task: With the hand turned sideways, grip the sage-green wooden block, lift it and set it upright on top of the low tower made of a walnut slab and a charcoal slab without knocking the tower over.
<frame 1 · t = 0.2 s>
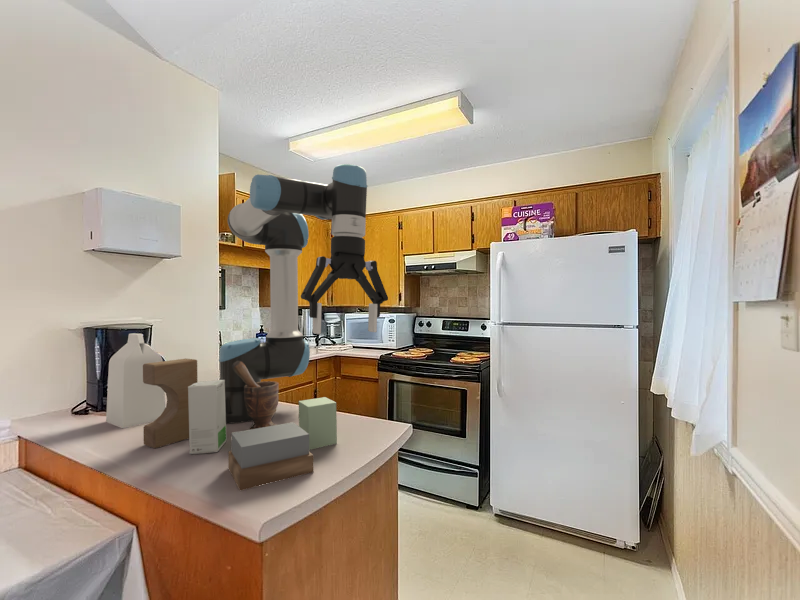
hand: (345, 332, 88), 27 cm above the worktop, tool pointing down, fingers open, 13 cm apart
walnut base slab: (270, 472, 81), on the worktop
sage block: (317, 442, 97), on the worktop
skincare box: (208, 448, 95), on the worktop
decorative block: (171, 441, 100), on the worktop
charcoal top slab: (270, 453, 81), point 3 cm above the worktop
milk: (136, 420, 120), on the worktop
mortar and pestle: (257, 436, 103), on the worktop
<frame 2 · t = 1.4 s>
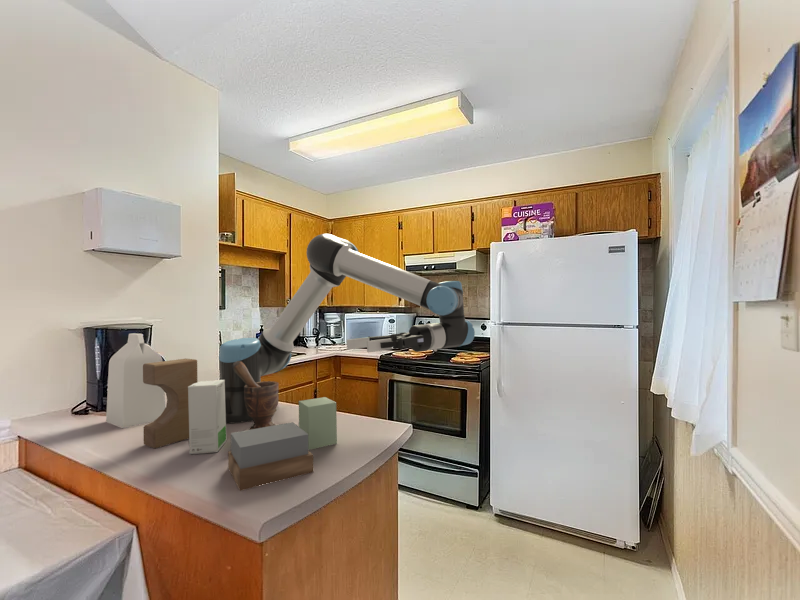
hand: (356, 345, 103), 23 cm above the worktop, tool horizontal, fingers open, 13 cm apart
walnut base slab: (270, 472, 81), on the worktop, touching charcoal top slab
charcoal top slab: (269, 453, 81), point 3 cm above the worktop, touching walnut base slab
everything else where it was.
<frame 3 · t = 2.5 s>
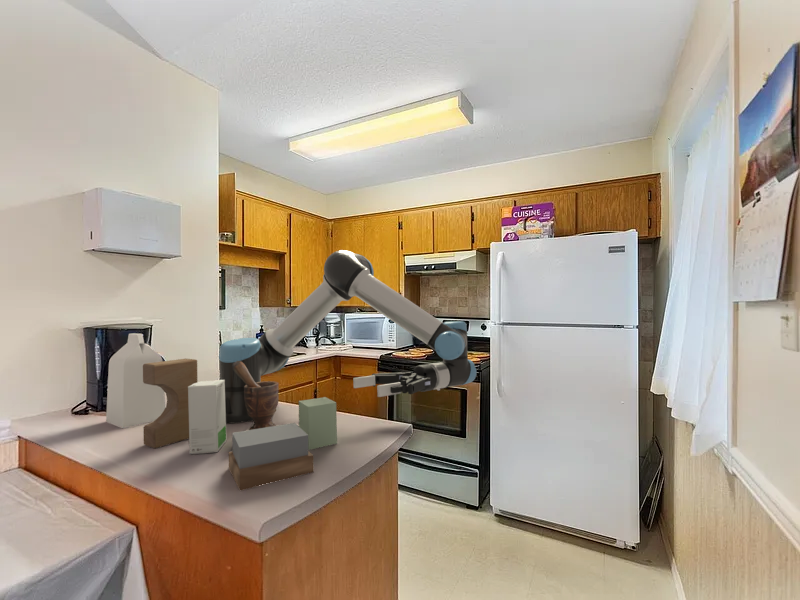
hand: (365, 387, 104), 12 cm above the worktop, tool horizontal, fingers open, 13 cm apart
walnut base slab: (270, 473, 81), on the worktop
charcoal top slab: (269, 453, 81), point 3 cm above the worktop
everything else where it was.
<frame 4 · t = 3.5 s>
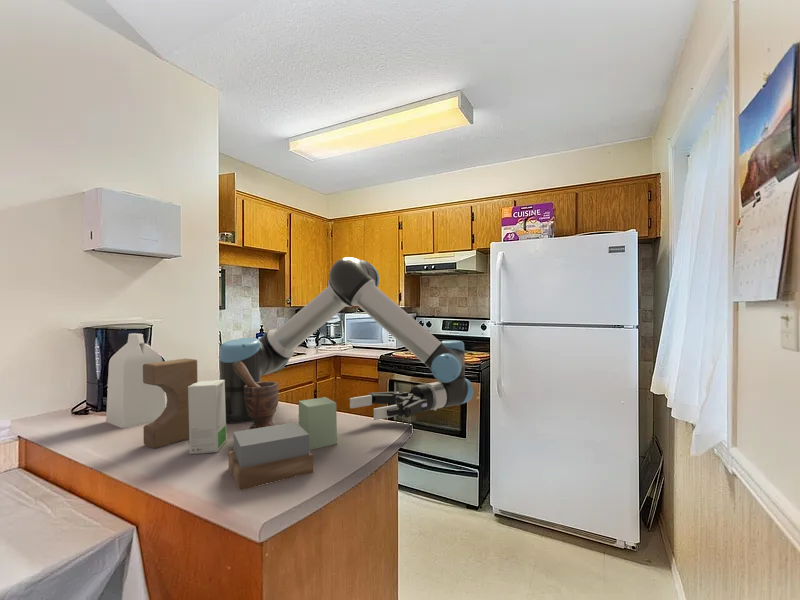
hand: (361, 408, 104), 6 cm above the worktop, tool horizontal, fingers open, 13 cm apart
walnut base slab: (270, 472, 81), on the worktop, touching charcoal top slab
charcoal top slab: (270, 452, 82), point 3 cm above the worktop, touching walnut base slab
everything else where it was.
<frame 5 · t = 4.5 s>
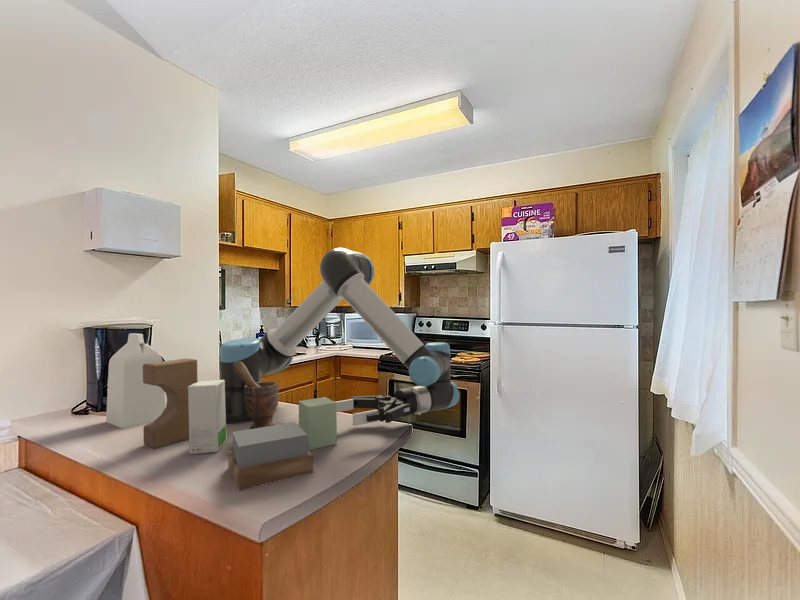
hand: (341, 413, 100), 6 cm above the worktop, tool horizontal, fingers open, 13 cm apart
nothing on the worktop moved.
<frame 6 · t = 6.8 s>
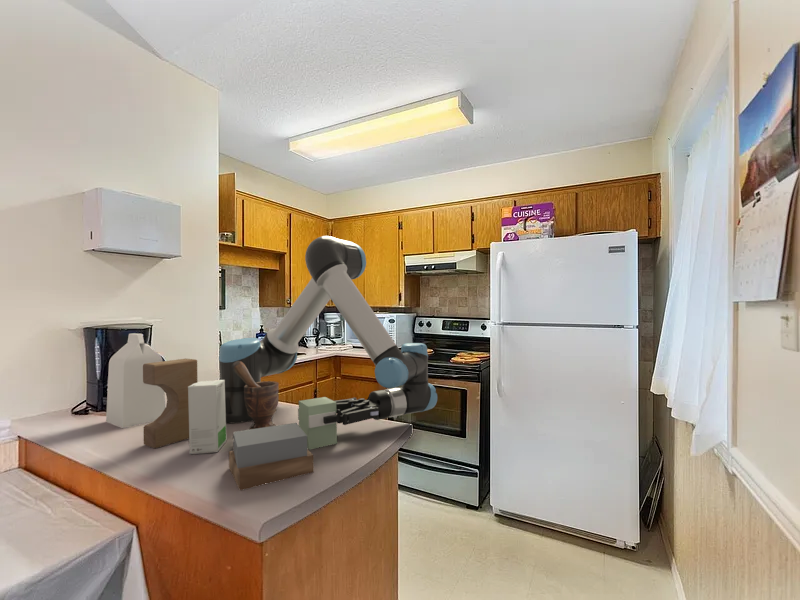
hand: (303, 418, 95), 7 cm above the worktop, tool horizontal, fingers closed on sage block, 7 cm apart
walnut base slab: (270, 472, 81), on the worktop
sage block: (317, 442, 97), on the worktop, touching gripper
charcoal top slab: (269, 453, 81), point 3 cm above the worktop
everything else where it was.
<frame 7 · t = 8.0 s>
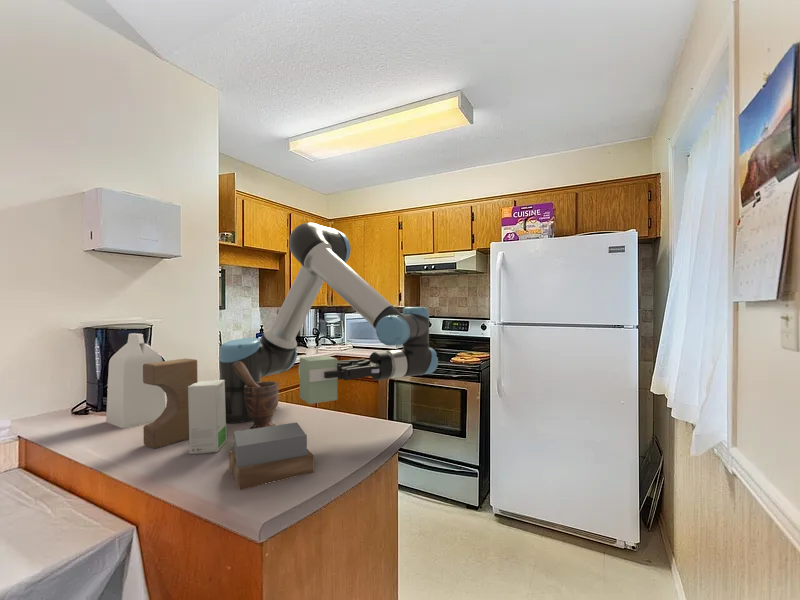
hand: (304, 373, 95), 17 cm above the worktop, tool horizontal, fingers closed on sage block, 7 cm apart
walnut base slab: (270, 472, 81), on the worktop, touching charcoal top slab
sage block: (318, 398, 97), point 11 cm above the worktop, touching gripper
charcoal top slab: (269, 452, 81), point 3 cm above the worktop, touching walnut base slab
everything else where it was.
when the fingers open (15 cm above the worktop, at t = 11.6 s): sage block drops 2 cm, resting on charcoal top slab.
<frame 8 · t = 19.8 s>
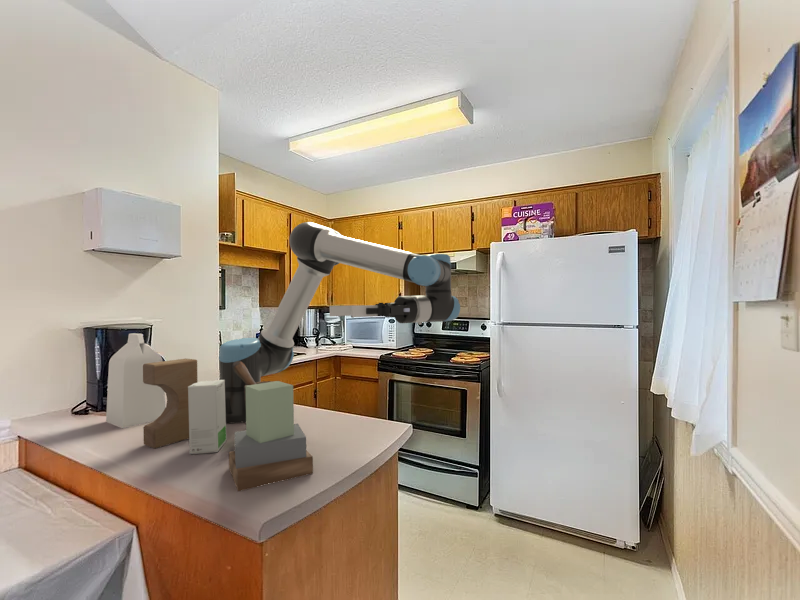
hand: (340, 311, 99), 32 cm above the worktop, tool horizontal, fingers open, 13 cm apart
sage block: (270, 434, 81), point 7 cm above the worktop, touching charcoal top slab
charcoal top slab: (269, 454, 81), point 3 cm above the worktop, touching sage block, walnut base slab
everything else where it was.
at the end: sage block 0.3 cm off-centre on the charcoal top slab, point 4.0 cm above the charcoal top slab's base; sage block tilted 0°; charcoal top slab 0.1 cm off-centre on the walnut base slab, point 4.0 cm above the walnut base slab's base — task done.
